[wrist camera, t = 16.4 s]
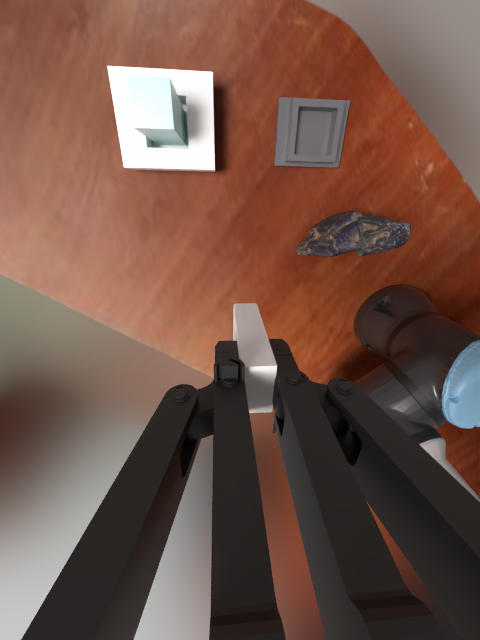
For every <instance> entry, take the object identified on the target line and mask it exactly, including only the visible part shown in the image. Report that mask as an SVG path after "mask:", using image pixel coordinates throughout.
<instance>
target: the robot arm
mask: <svg viewBox="0 0 480 640" xmlns="http://www.w3.org/2000/svg"><path fill="white" fill-rule="evenodd" d="M354 331H355V335H356V337H357V339H358V340H359V341H360V342H361V343H362V345H363V346H364V347H365V348H367V349H368V350H370V351H372V352H374V353H376V354H378V355H381V356H383V357H385V358H387V359H388V360H387V361H385V362H384V363H382V364H381V365H379V366H378V367H376V368H375V369H373V370H372V371H370V372H369V373H367V374H365V375H364V376H362V377H361V378H359V379H358V380H356V381H355V382H352V381H350V380H347V379H344V378H334V379H331V380H330V381H329V382H328V385H324V384H319V383H315V382H312V381H310V380H309V378H308V377H307V376H306V374H304V373H302V372H301V371H299V369H298V366H297V364H296V362H295V360H294V357H293V355H292V353H291V351H290V348H289V346H288V344H287V343H286V342H285V341H284V340H282V339H268V337H267V334H266V331H265V328H264V325H263V322H262V319H261V315H260V312H259V309H258V306H257V303H250V304H234V318H233V341H219V342H218V343H217V345H216V346H215V364H214V380H213V382H212V383H211V384H209V385H208V386H206V387H204V388H201V389H198V390H196V388H194V387H193V386H191V385H187V384H181V385H177V386H174V387H172V388H171V389H169V390H168V391H167V393H166V394H165V396H164V397H163V399H162V401H161V403H160V405H159V406H158V408H157V409H156V411H155V413H154V414H153V416H152V418H151V420H150V421H149V423H148V425H147V426H146V428H145V430H144V431H143V433H142V435H141V437H140V438H139V440H138V442H137V443H136V445H135V447H134V449H133V450H132V452H131V454H130V455H129V457H128V459H127V461H126V462H125V464H124V466H123V467H122V469H121V471H120V472H119V474H118V476H117V478H116V479H115V481H114V483H113V484H112V486H111V488H110V489H109V491H108V493H107V495H106V496H105V498H104V500H103V501H102V503H101V505H100V506H99V508H98V510H97V512H96V513H95V515H94V517H93V518H92V520H91V522H90V524H89V525H88V527H87V529H86V530H85V532H84V534H83V535H82V537H81V539H80V541H79V542H78V544H77V546H76V547H75V549H74V551H73V553H72V554H71V556H70V558H69V559H68V561H67V563H66V565H65V566H64V568H63V569H62V571H61V573H60V575H59V576H58V578H57V580H56V581H55V583H54V585H53V587H52V588H51V590H50V592H49V594H48V595H47V597H46V599H45V600H44V602H43V604H42V605H41V607H40V609H39V611H38V612H37V614H36V616H35V617H34V619H33V621H32V622H31V624H30V626H29V628H28V629H27V631H26V633H25V634H24V636H23V638H22V639H21V640H133V639H134V636H135V634H136V630H137V628H138V625H139V622H140V619H141V616H142V612H143V610H144V607H145V604H146V601H147V598H148V595H149V592H150V589H151V586H152V583H153V580H154V578H155V575H156V571H157V569H158V566H159V563H160V560H161V557H162V554H163V551H164V548H165V545H166V542H167V539H168V536H169V533H170V530H171V527H172V524H173V521H174V518H175V515H176V513H177V510H178V506H179V504H180V501H181V498H182V495H183V492H184V489H185V486H186V483H187V480H188V477H189V474H190V471H191V468H192V465H193V462H194V459H195V456H196V453H197V450H198V447H199V444H200V442H201V439H202V438H204V437H207V436H210V435H213V436H214V437H213V501H212V569H211V618H210V636H209V640H285V634H284V629H283V624H282V621H281V617H280V614H279V612H278V608H277V604H276V598H275V592H274V585H273V578H272V571H271V563H270V556H269V550H268V543H267V535H266V529H265V521H264V514H263V507H262V500H261V493H260V486H259V479H258V472H257V465H256V458H255V451H254V444H253V437H252V429H251V422H250V416H249V413H259V412H272V409H273V406H274V410H275V416H274V424H273V433H275V431H277V434H278V439H279V443H280V447H281V451H282V456H283V460H284V464H285V468H286V473H287V477H288V481H289V485H290V490H291V494H292V498H293V502H294V507H295V510H296V515H297V519H298V523H299V528H300V532H301V536H302V540H303V544H304V549H305V553H306V557H307V561H308V566H309V569H310V574H311V578H312V582H313V586H314V591H315V595H316V599H317V603H318V608H319V612H320V616H321V620H322V624H323V629H324V633H325V640H447V639H446V637H445V635H444V633H443V631H442V629H441V627H440V626H439V624H438V622H437V621H436V619H435V617H434V615H433V614H432V613H431V611H430V610H429V609H428V607H427V606H426V605H425V604H424V603H423V602H422V601H420V600H419V599H418V598H416V597H415V596H413V595H412V594H411V592H410V591H409V590H408V588H407V586H406V585H405V583H404V581H403V579H402V577H401V575H400V573H399V570H398V568H397V566H396V564H395V562H394V560H393V558H392V555H391V553H390V551H389V549H388V547H387V545H386V543H385V541H384V538H383V537H382V534H381V532H380V530H379V528H378V526H377V523H376V521H375V519H374V517H373V515H372V513H371V511H370V509H369V506H368V504H369V505H370V506H371V508H372V509H373V511H374V512H375V514H376V515H377V516H378V518H379V519H380V521H381V522H382V524H383V525H384V527H385V528H386V529H387V531H388V532H389V534H390V535H391V537H392V538H393V539H394V541H395V542H396V544H397V545H398V547H399V548H400V549H401V551H402V552H403V554H404V555H405V557H406V558H407V560H408V561H409V562H410V564H411V565H412V567H413V568H414V570H415V571H416V572H417V574H418V575H419V577H420V578H421V580H422V581H423V582H424V584H425V585H426V587H427V588H428V590H429V591H430V593H431V594H432V595H433V597H434V598H435V600H436V601H437V603H438V604H439V605H440V607H441V608H442V610H443V611H444V613H445V614H446V615H447V617H448V618H449V620H450V621H451V623H452V624H453V626H454V627H455V628H456V630H457V631H458V632H459V634H460V636H461V637H462V638H463V640H480V498H479V497H478V496H477V495H476V494H475V492H474V491H473V490H472V489H471V488H470V486H469V485H468V484H467V483H466V482H465V481H464V479H463V478H462V477H461V476H460V475H459V473H458V472H457V471H456V470H455V469H454V468H453V466H452V465H451V464H450V463H449V462H448V460H447V459H446V457H445V447H446V441H445V440H444V439H443V437H442V436H441V435H440V434H439V433H438V432H437V431H436V428H438V427H440V426H441V425H443V424H445V423H447V422H450V423H451V424H454V425H456V426H458V427H460V428H466V429H470V428H473V427H474V426H475V427H480V336H479V335H477V334H476V333H474V332H472V331H470V330H468V329H467V328H465V327H463V326H461V325H459V324H458V323H456V322H454V321H452V320H451V319H449V318H447V317H445V316H443V315H442V314H440V313H439V312H438V310H437V309H436V308H435V306H434V305H433V304H432V303H431V301H430V299H429V298H428V297H427V296H426V295H425V294H424V293H423V292H421V291H419V290H417V289H415V288H413V287H411V286H407V285H394V286H389V287H386V288H384V289H382V290H380V291H378V292H376V293H375V294H373V295H372V296H371V297H369V298H368V299H367V300H366V301H365V302H364V303H363V305H362V306H361V307H360V309H359V311H358V313H357V315H356V318H355V322H354ZM365 499H366V500H365ZM366 501H367V502H368V504H367V502H366Z"/></svg>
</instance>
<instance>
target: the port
mask: <svg viewBox="0 0 480 640" xmlns="http://www.w3.org/2000/svg"><path fill="white" fill-rule="evenodd" d="M107 67H108V74H109V80H110V86H111V92H112V98H113V104H114V110H115V116H116V122H117V128H118V134H119V141H120V147H121V153H122V159H123V165H124V168H129V169H134V170H165V171H201V172H215V142H214V96H213V72H206V71H189V70H172V69H155V68H137V67H120V66H107ZM126 75H141V76H159V77H170V79H171V81H172V84H173V86H174V88H175V90H176V93H177V95H178V97H179V99H180V102H181V104H182V106H183V109H184V112H185V128H186V143H187V146H173V145H157V144H156V143H155V142H153V141H152V140H150V139H149V138H147V137H146V136H145V135H143V134H142V133H140V132H139V131H137V130H136V129H135V128H133V121H132V114H131V107H130V100H129V93H128V86H127V79H126Z"/></svg>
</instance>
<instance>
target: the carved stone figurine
mask: <svg viewBox="0 0 480 640" xmlns="http://www.w3.org/2000/svg"><path fill="white" fill-rule="evenodd" d="M309 232H310V233H309V235H308V236H307V237H306V238H305V239H304V240H303V241H302V243H301V244H299V245H298V246H297V247H296V252H297V254H299V255H300V256H306V255H314V256H319V257H329V256H330V257H333V256H338V255H341V254H344V253H347V252H350V251H353V250H356V249H358V252H357V255H358V256H365V255H368V254H376V253H381V252H385V251H388V250H390V249H392V248H399V247H401V246H403V245H404V244H405V243H406V242H407V241H408V238H409V235H410V233H411V225H410V224H408V223H406V222H405V223H403V222H397V221H390V220H388V219H386V218H381V217H374V216H366V215H362V214H361V213H359V212H348V213H342V214H337V215H334V216H331V217H329V218H327V219H325V220H324V221H322V222H320V223H318V224H316V225H315V226H313V227H312V228H310V229H309Z"/></svg>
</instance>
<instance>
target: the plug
mask: <svg viewBox="0 0 480 640" xmlns="http://www.w3.org/2000/svg"><path fill="white" fill-rule="evenodd" d="M126 79H127V86H128V93H129V100H130V107H131V114H132V121H133V128H135V129H136V130H137V131H139V132H140V133H142V134H143V135H145V136H146V137H147V138H149V139H150V140H152V141H153V142H155V143H156V144H157V145H173V146H187V143H186V128H185V112H184V109H183V106H182V104H181V102H180V99H179V97H178V95H177V93H176V90H175V88H174V86H173V84H172V81H171V79H170V77H159V76H141V75H126Z"/></svg>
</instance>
